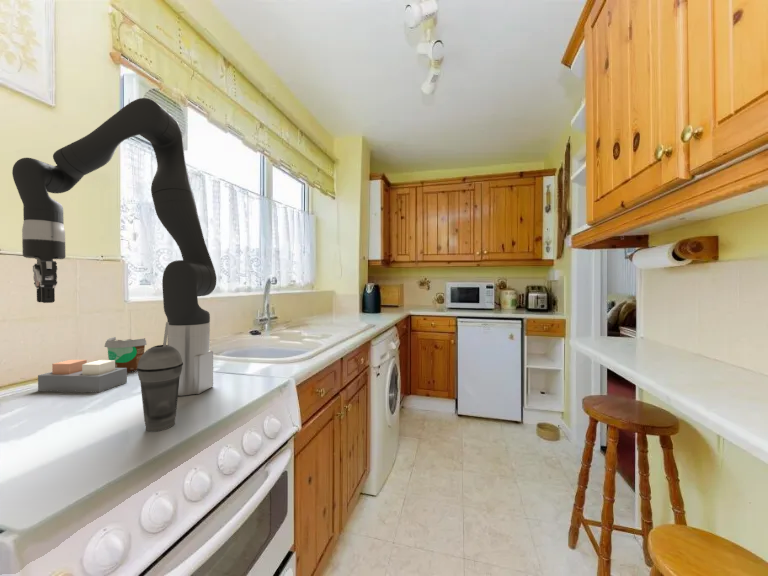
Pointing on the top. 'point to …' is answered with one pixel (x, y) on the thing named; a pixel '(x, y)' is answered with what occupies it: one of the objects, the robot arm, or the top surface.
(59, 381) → the key console
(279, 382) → the top surface
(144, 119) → the robot arm
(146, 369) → the beverage cup
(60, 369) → the terracotta key
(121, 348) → the food container
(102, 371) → the cream key
